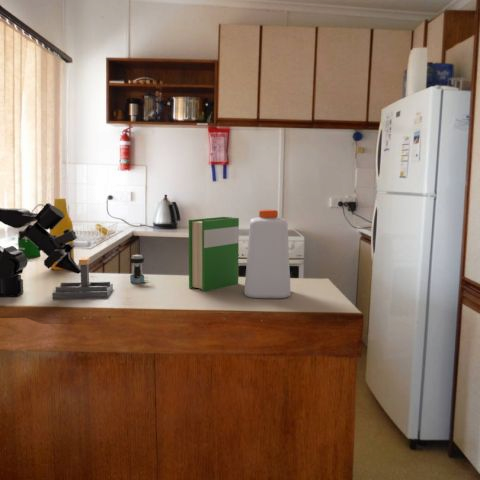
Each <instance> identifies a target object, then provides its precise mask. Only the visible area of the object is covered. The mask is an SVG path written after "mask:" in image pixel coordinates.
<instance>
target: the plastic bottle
mask: <svg viewBox="0 0 480 480" xmlns="http://www.w3.org/2000/svg"><path fill="white" fill-rule="evenodd" d="M258 212H259V213H258V214H259V215H258V217H253V218H251V219H249V220H250V221H249V229H248V239H247V240H248V242H247V243H248V244H247V254H246V266H245V267H246V269H245V280H244V281H245V282H244V290H243V291H244V294H245V296H246V297H248V298H252V299H285V298H288V297H289V296H290V295H291V292H292V291H291V272H290V271H291V270H290V252H289V247H290V246H289V232H288V230H289V229H288V227H289V226H288V222H287V220H286V219H285V218H282V217H279V216H278V215H279V214H278V213H279V211H278V210H276V209H260V210H259V211H258Z"/></svg>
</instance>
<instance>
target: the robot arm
mask: <svg viewBox="0 0 480 480" xmlns="http://www.w3.org/2000/svg"><path fill="white" fill-rule="evenodd" d="M64 217H65V216H64V214H63V212H62V211H61V210H60V209H57V208H56V207H54V205H52V204H51V203H49V202H48V203H46V204H45V205H44V206H43V207H42V209H41V210H40V211H38V213H34V212H31V210H29V209H26V208H4V207H3V208H2V207H0V223H2V224H3V225H6V226H9V227H11V228H14V229H17V228H21V227H25V226H28V225H29V226H28V227H27V228H26V229H25V230H24V231H19V240H22V239H24V238H25V237H27V238H28V239H29V240H30V241H31V242H33V243H34V244H35V245H36V246H37V247H38V250H39V251H40V252H42V253H44V255H46V256H47V257H46V258H45V259H44V260H43V265H44V266H45V267H46V268H47V269H48V270H50V269H52V268H51V267H52V265H53V264H54V263H55V262H57V264H56V265H55V267H59V268H62V269H65V270H64V271H69V272H72V273H73V274H77V275H78V274H81V269H80V268H79V266H78V265H77V263H76V261H75V259H74V260H73V258H72V249H73V248H75V247H76V245H74V243H73V244H72V243H68V242H71V241H73V242H74V241H75V240H77V239H78V236H77V234H76V231H74V229H73V230H70V229H67V230H65V231H64V234H63V235H61V236H59V237H57V236H56V235H51V234H50V231H48V230H50V229H54V228H55V226H56V225H57V224H58V223H59V222H60V221H61V220H62V219H63V218H64ZM33 221H37V222H36V223H35V224H34V225H30V224H31V222H33ZM27 265H28V258H27V257H26V255H24V254H23V251H20V250H18V248H16V247H15V246H14V245H10V246H7V247H3V246H0V297H18V296H20V295H21V294H23V293H24V279H22V274H23V272H24V271H23V270H24V269H25V268H26V267H27Z"/></svg>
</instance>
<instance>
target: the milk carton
mask: <svg viewBox="0 0 480 480" xmlns="http://www.w3.org/2000/svg"><path fill="white" fill-rule="evenodd" d="M36 222H37V221H33V222H31V224H30V225H34V224H35V223H36ZM28 226H29V225H28ZM28 226H25V227H21V228H16V229H17V247H18V248H17V249H18V250H20V251H23V254H24V255H26V257H27V259H33V258H38V257H41V251H39V250H38V247H37V246H36V245H35V244H34V243H33V242H31V241H30V240H29V239H28V238H27V237H25V238H24V239H22V240H19V231H24V230H25V229H26V228H27V227H28Z"/></svg>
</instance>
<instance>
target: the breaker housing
mask: <svg viewBox="0 0 480 480" xmlns="http://www.w3.org/2000/svg"><path fill="white" fill-rule="evenodd" d="M89 283H91V286H79V285H80V284H81V281H73V282H72V281H71V282H70V281H69V282H68V281H65V282H60V285H59V286H56V287H55V290H53V292H52V294H51V295H52V296H51V297H52V300H62V299H63V300H65V299H66V300H69V299H70V300H71V299H81V300H82V299H108V298H109V297H110V295H111V294H112V292H113V289H114V285H113V283H111V281H89ZM111 291H112V292H111ZM108 296H109V297H108Z"/></svg>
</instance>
